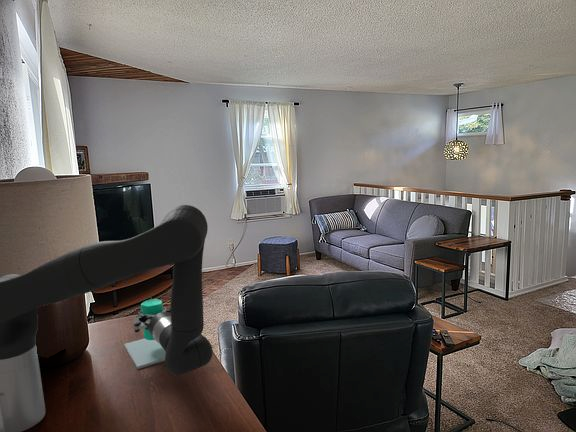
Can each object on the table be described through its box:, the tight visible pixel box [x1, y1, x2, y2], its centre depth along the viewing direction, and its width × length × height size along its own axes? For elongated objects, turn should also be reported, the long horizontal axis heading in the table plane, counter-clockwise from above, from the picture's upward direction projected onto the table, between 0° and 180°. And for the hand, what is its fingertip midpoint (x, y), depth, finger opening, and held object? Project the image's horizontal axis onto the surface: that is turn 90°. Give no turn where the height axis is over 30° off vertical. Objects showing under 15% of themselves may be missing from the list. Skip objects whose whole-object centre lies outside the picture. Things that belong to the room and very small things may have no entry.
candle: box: [140, 298, 164, 340], centre depth 115 cm, size 6×6×12 cm
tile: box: [124, 337, 166, 370], centre depth 116 cm, size 16×14×1 cm
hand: (150, 310), depth 117 cm, fingers closed on candle, 4 cm apart
